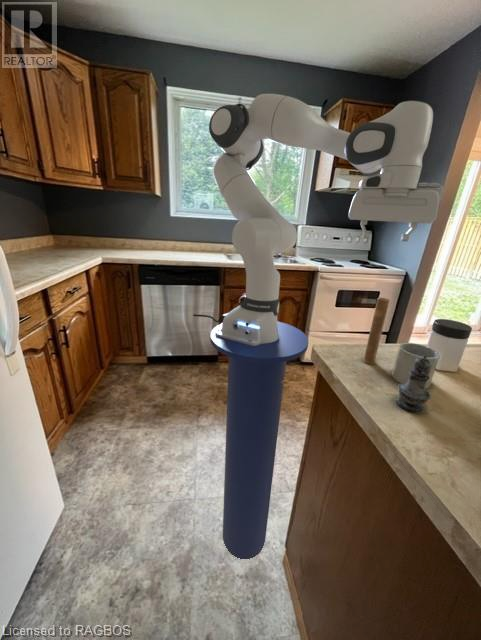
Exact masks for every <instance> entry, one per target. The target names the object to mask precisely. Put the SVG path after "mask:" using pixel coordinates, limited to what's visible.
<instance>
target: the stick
mask: <svg viewBox="0 0 481 640" xmlns="http://www.w3.org/2000/svg"><path fill="white" fill-rule="evenodd" d="M390 301H391V300H390V299H389V298H386V297H377V299H376V302H375V303H376V304H375V307H374V312H373V316H372V320H371V326H370V329H369V334H368V338H367V343H366V347H365V351H364V356H363V362H364V363H366V364H369V365H373V364H375V363H376V358H377V354H378V349H379V347H380V346H379V345H380V341H381V338H382V334H383V330H384V325H385V321H386V318H387V314H388V309H389V305H390Z"/></svg>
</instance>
